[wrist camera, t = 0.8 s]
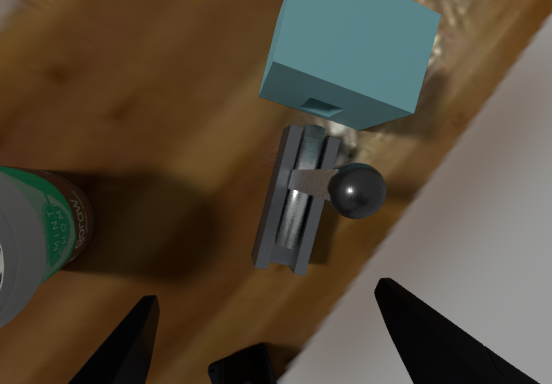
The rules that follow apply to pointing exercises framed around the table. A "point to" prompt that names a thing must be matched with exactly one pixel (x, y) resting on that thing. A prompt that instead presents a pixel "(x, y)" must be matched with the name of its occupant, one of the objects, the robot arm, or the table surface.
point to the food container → (37, 232)
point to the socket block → (350, 59)
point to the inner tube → (327, 188)
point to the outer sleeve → (276, 198)
